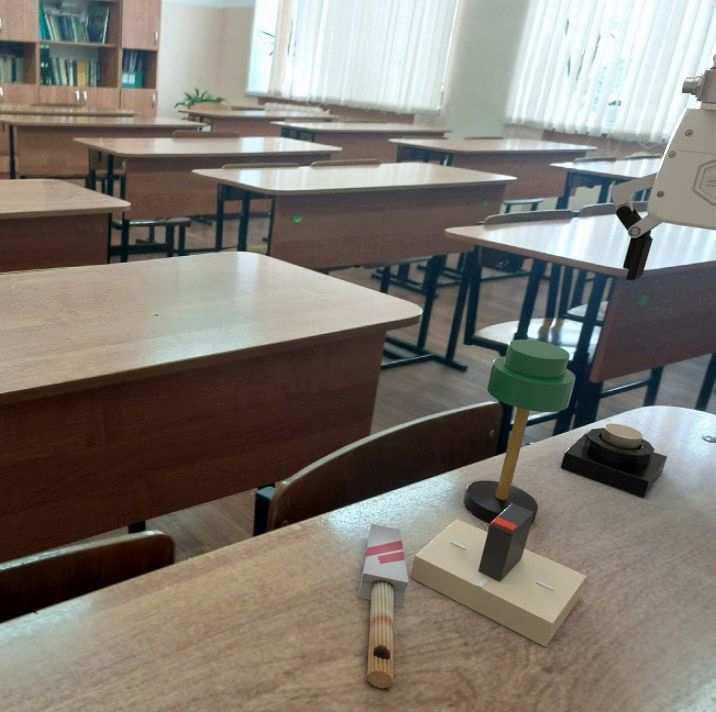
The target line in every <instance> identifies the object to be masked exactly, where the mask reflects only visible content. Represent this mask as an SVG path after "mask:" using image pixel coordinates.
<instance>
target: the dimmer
mask: <svg viewBox="0 0 716 712" xmlns="http://www.w3.org/2000/svg"><path fill="white" fill-rule="evenodd" d="M487 533H488V531H486V530H484V529H481V528H480V527H477V526H476V525H473V524H470V523H469V522H465V521H463V520H461V519H458V518H456V519H454V521H452V523H450V524H449V525H448V526H447V527H446V528H445V529H443V530H442V531H441V532H440V533H439V534H438V535H436V536H435V538H433V539H432V540H431V541H430V542H428V544H426V545H425V546H424V547H423V548H422V549H421V550H419V551H418V552H417V553H416V554H415V555H414V559H413V564H412V568H411V573H410V579H412V580H414V581H416V582H418V583H420V584H423V585H424V586H426V587H428V588H430V589H432V590H433V591H436V592H438V593H439V594H442V595H444V596H445V597H447V598H449V599H451V600H453V601H455V602H457V603H458V604H461V605H463V606H465V607H466V608H468V609H470V610H472V611H474V612H477V613H478V614H480V615H482V616H484V617H486V618H488V619H490V620H492V621H493V622H496V623H497V624H499V625H502V626H504V627H505V628H507V629H509V630H511V631H513V632H515V633H517V634H519V635H521V636H523V637H525V638H526V639H529V640H531V641H533V642H534V643H536V644H538V645H540V646H541V647H544V648H546V647H547V646H548V645H549V643H550V642H551V640H553V638H554V636H555V635H556V633H557V632H558V631H559V630H560V627H561V626H562V625H563V623H564V622H565V621H566V619H567V617H568V616H569V615H570V613H571V612H572V611H573V609H574V608H575V606H576V604H578V602H579V600H580V598H581V596H582V593H583V590H584V586H585V584H586V579H587V577H588V576H587V575H585V574H584V573H581V572H579V571H576V570H574V569H572V568H569V567H567V566H566V565H562V564H560V563H558V562H557V561H553V560H552V559H549V558H547V557H545V556H543V555H540V554H538V553H536V552H534V551H531V550H529V549H527V548H524V551H523V555H522V558H521V560H520V561H519V562H518V563H517V564H516V565H515V566H514V567H513V568H512V569H511V571H510V572H509V573H508V574H507V575H506V576H505V577H504V578H503V579H502V580H501V581H498V580H496V579H494V578H491V577H489V576H487V575H485V574H483V573H481V572H479V571H478V570H479V566H480V562H481V557H482V553H483V549H484V545H485V541H486V537H487Z"/></svg>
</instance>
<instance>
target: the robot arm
mask: <svg viewBox="0 0 716 712" xmlns="http://www.w3.org/2000/svg"><path fill="white" fill-rule="evenodd" d="M707 68H708V69H705V70H704V73H701V75H696V76H695V77H687V76H686V77H685V79H684V81H683V84H682V87H681V94H690V95H691V96H694V98H696V102H697V104H696V108H691V107H689V108H688V107H685V108H684V109H683V111H682V113H681V115H680V117H679V119H678V121H677V123H676V125H675V127H674V130H673V132H672V133H671V136H670V139H669V141H668V143H667V145H666V148H665V151H664V154H663V157H662V159H661V162H660V164H659V167H658V170H657V172H654V173H650V174H647V175H644V176H641V177H637V178H635V179H631V180H628V181H624V182H622V183H618V184H615V185H613V186H612V187H611V188H610V191H609V192H610V195H611V200H612V202H613V206H614V208H615V216H616V217H617V219H618V220H619V221H620V223H621V224H622V225H623V227H624V228H625V230H626V231H627V235H628V236H629V237H630V240H629V243H628V247H627V250H626V253H625V257H624V261H623V265H622V269H624V270H627V274H626V278H625V279H626V280H627V281H636V280H638V279H639V278H642V276H643V274H644V271H645V268H646V265H647V262H648V257H649V254H650V251H651V248H652V244H653V240H654V237H652V235H651V233H652V230H654V229H655V228H657V227H658V226H659V225H661V224H662V223H665V224H669V225H675V226H681V227H688V228H689V227H690V228H695V229H701V230H702V229H703V230H710V231H716V42H715V43H714V46H713V48H712V53H711V57H710V60H709V64H708V67H707ZM649 189H651V190H650V194H649V196H648V200H647V206H646V213H647V215H645V216H644V217H641V215H640V214H639V212H638V211H637V210H636V208H635V207H634V206H633V201H632V196H633V195H634V194H635V193H638V192H639V193H640V192H642V191H645V190H649Z"/></svg>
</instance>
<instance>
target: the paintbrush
mask: <svg viewBox="0 0 716 712" xmlns="http://www.w3.org/2000/svg"><path fill="white" fill-rule="evenodd" d="M404 552H405V551H404V545H403V539H402V533H401V529H400V528H395V527H389V526H383V525H380V524H374V523H371V524H370V529H369V533H368V540H367V545H366V550H365V556H364V561H363V567H362V573H361V578H360V584H359V589H358V595H357V598H358V599H363V600H367V601H370V615H369V618H370V619H369V637H368V652H367V653H368V654H367V656H368V657H367V669H366V677H367V681H368V682H369V684H371V685H373V687H375V688H378V689H385V688H387V689H388V688H389V687H391V686H392V685H393V683H394V607H398V608H403V607H404V606H403V605H404V598H405V592H406V589H407V587H408V586H409V582H410V581H409V576H408V570H407V564H406V556H405V553H404Z"/></svg>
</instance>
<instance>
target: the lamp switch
mask: <svg viewBox="0 0 716 712" xmlns="http://www.w3.org/2000/svg"><path fill="white" fill-rule="evenodd" d="M603 429H604V427H597V428H591V429H590V430H586V431H585V432H584V433H583V434H582V435H580V437H579V438H578V439H577V440H576V441H575V442H574V443H573V444H572V445H570V446H569V448H568V449H567V450H565V452H564V453H563V457H562V461H561V464H560V469H563V470H566V471H568V472H570V473H574V474H576V475H579V476H582V477H584V478H587V479H590V480H593V481H596V482H598V483H601V484H604V485H606V486H609V487H612V488H615V489H618V490H620V491H623V492H625V493H629V494H632V495H634V496H637V497H640V498H643V499H644V498H645V497H646V495H647V494H648V493H649V491H650V490H651V488H652V487H653V485H654V484H655V483H656V481H657V480H658V479H659V477H660V476H661V474H662V473H663V471H664V467H665V465H666V463H667V460H668V456H667V455H664V454H661V453H658V452H655V447H653V446H652V444H651V442H649V441H648V440H646V439H644V438H642V440H641V443H640V446H639V449H638V450H625V449H620V448H617V447H614V446H610V445H608V444H607V443H605V442H603V441H601V436H602V433H603Z"/></svg>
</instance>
